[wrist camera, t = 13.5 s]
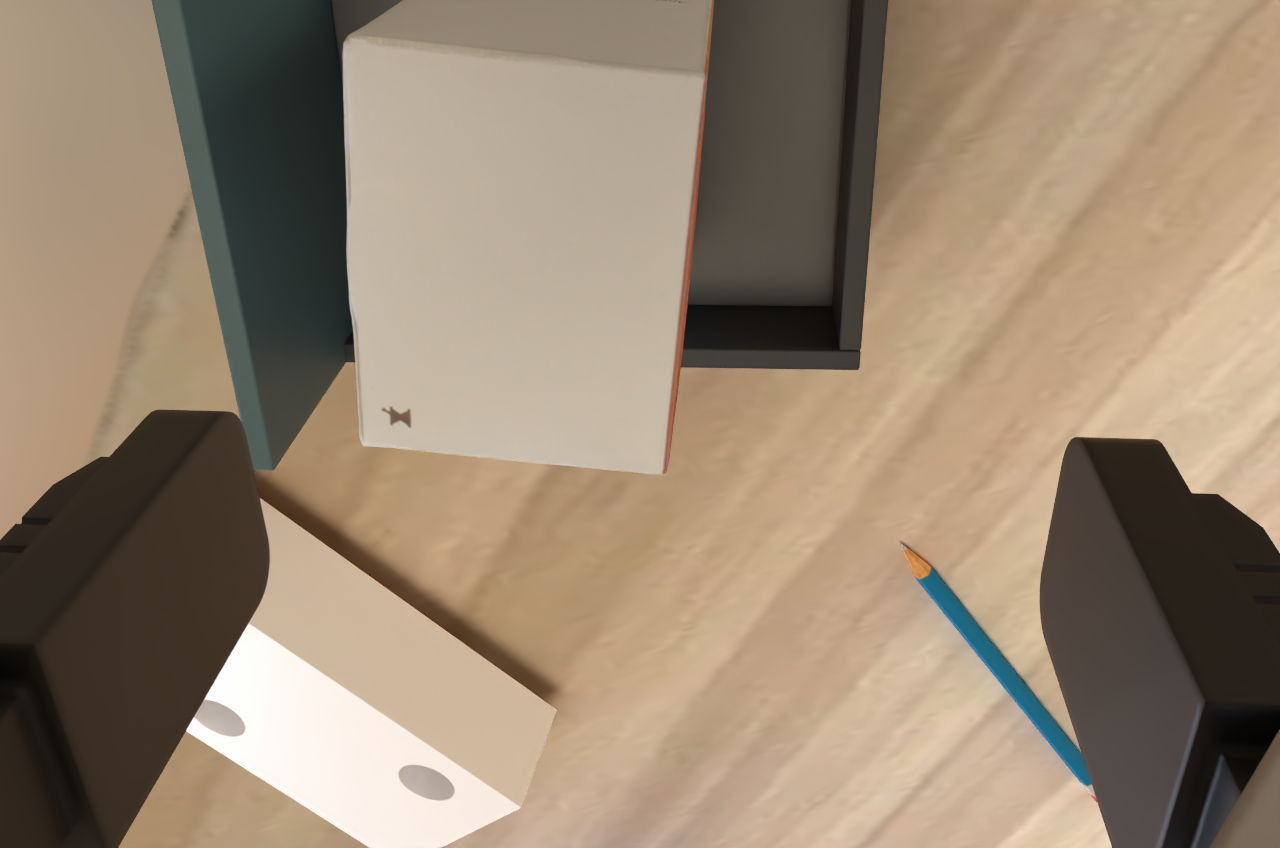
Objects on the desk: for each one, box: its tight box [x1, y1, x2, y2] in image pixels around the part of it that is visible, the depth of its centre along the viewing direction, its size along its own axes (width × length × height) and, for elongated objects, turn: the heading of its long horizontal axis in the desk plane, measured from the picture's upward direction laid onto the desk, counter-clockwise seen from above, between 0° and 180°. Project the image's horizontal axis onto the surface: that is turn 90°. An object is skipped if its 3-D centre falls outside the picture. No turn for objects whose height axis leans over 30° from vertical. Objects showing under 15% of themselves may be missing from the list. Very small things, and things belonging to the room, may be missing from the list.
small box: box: [342, 0, 714, 475], centre depth 27 cm, size 8×6×13 cm
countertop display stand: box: [152, 0, 888, 470], centre depth 32 cm, size 15×13×16 cm
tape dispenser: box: [186, 498, 557, 848], centre depth 48 cm, size 18×10×10 cm, turn 48°
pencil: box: [900, 544, 1098, 803], centre depth 50 cm, size 1×17×1 cm, turn 38°
